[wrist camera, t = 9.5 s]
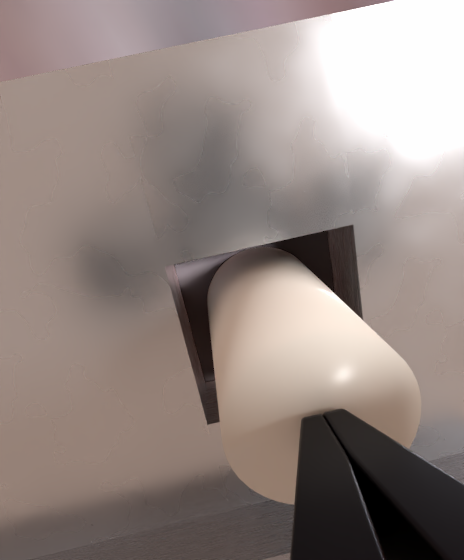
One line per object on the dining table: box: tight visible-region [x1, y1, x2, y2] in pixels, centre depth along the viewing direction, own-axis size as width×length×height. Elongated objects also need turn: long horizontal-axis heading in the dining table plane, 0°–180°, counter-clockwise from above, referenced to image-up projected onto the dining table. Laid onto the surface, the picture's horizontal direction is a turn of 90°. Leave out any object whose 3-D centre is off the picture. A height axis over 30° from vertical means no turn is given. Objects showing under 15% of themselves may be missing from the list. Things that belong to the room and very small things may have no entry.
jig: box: [0, 0, 464, 560], centre depth 12 cm, size 16×20×4 cm
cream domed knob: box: [207, 247, 421, 505], centre depth 11 cm, size 4×4×7 cm
